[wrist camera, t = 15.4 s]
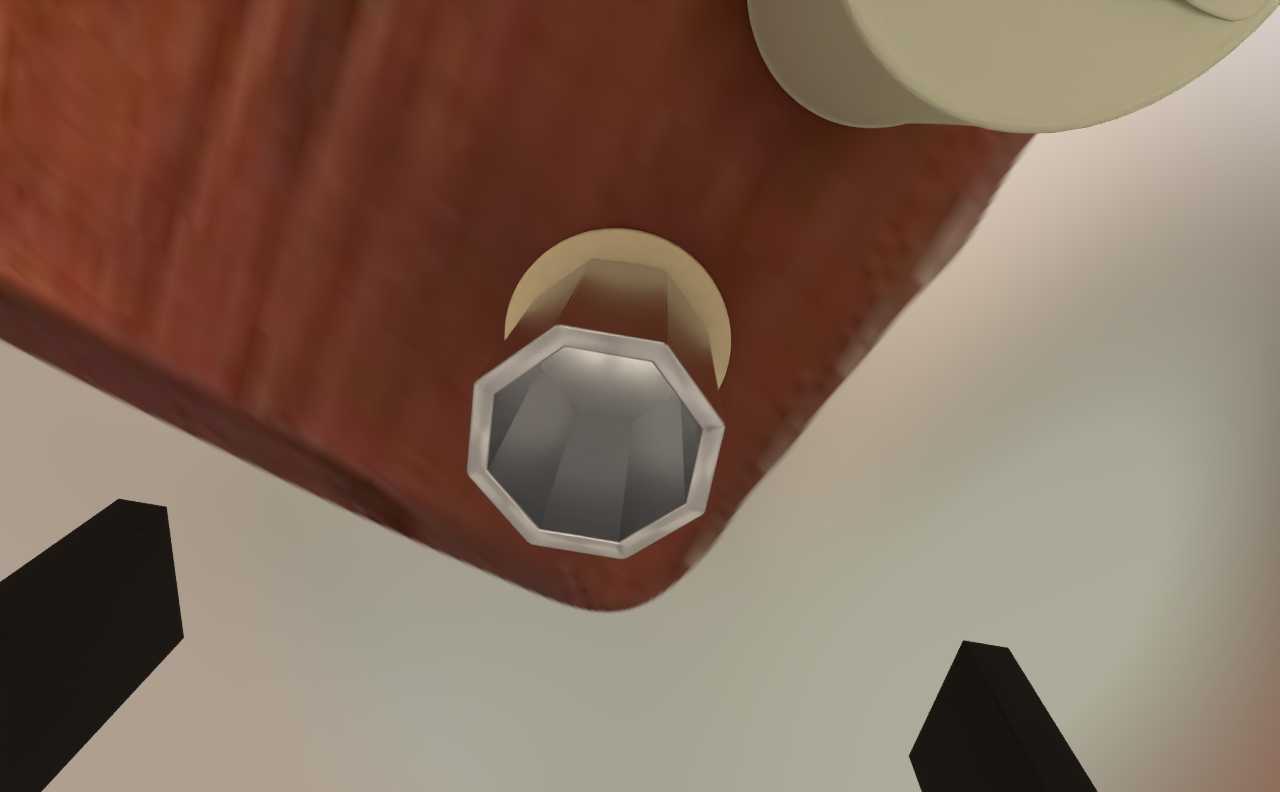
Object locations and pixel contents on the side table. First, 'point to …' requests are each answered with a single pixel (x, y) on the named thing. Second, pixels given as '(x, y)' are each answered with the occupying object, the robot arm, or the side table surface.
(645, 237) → the coaster
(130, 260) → the side table surface
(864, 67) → the can
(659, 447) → the steel cup
